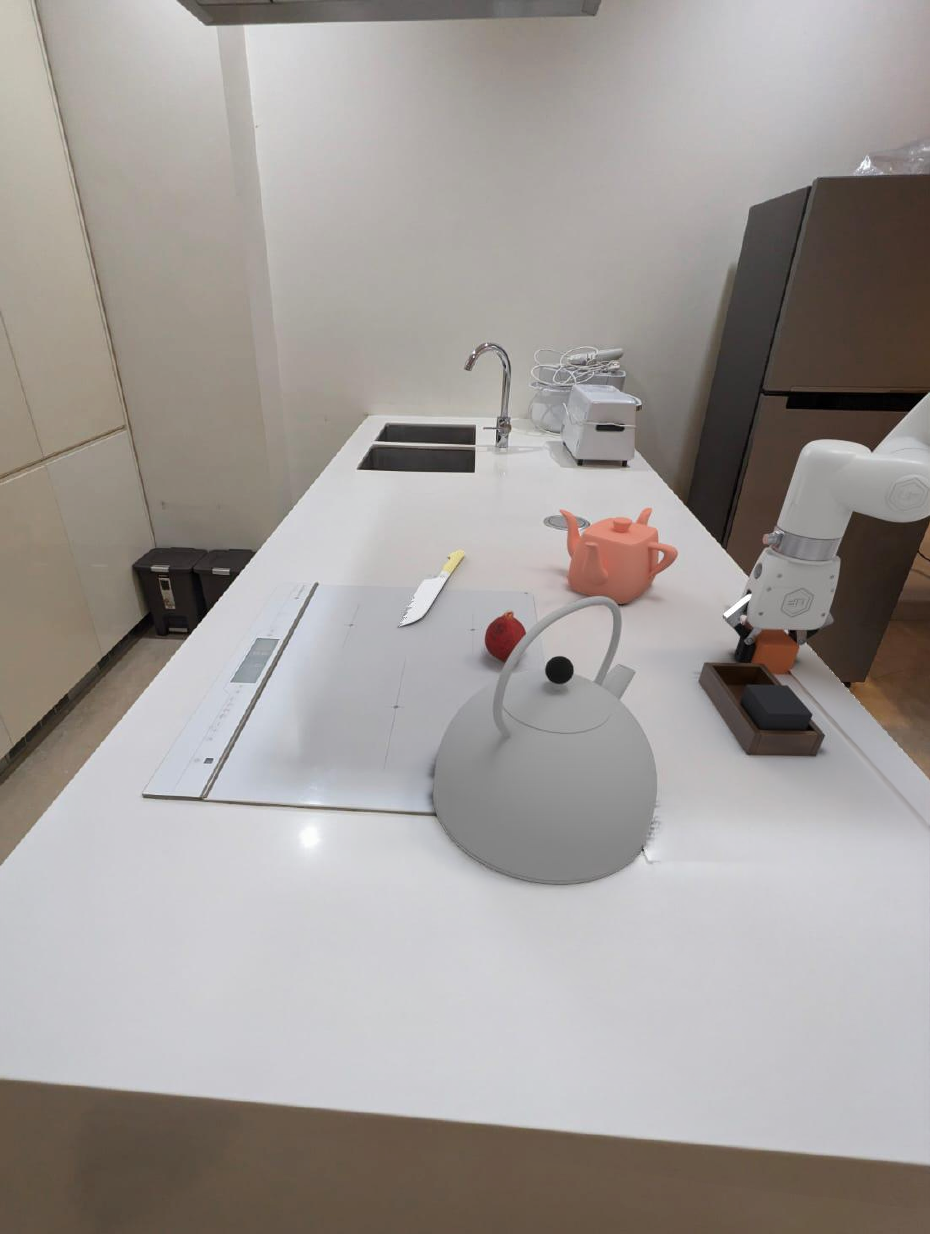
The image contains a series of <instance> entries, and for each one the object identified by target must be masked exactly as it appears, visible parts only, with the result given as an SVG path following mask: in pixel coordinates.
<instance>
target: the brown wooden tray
mask: <svg viewBox="0 0 930 1234" xmlns="http://www.w3.org/2000/svg"><path fill="white" fill-rule="evenodd" d="M698 683H699V684H700V686H701V688H702V689H703V690H704V692H705V694H706V695H707V697H708V698H709V700H710V701H711V703H712V704H713V705H714V708H715V709H716V710H717V712H718V713H719V715H720V716H721V718H722V720H723V721H724V723H725V724H726V726H727V727H728V728H729V730H730V731H731V733H732V735H733V736H734V738H735V739H736V740H737V742H738V743H739V745H740V746H741V748H742V750H743V751H744V753H745V755H746V756H778V757H779V756H781V757H784V756H785V757H786V756H787V757H790V756H791V757H816V756H817V755H818V752H819V750H820V748H821V746H822V744H823V742H824V739H825V737H826V734H825V732H823V731H822V730H821V729H820V727H819V726H818V725H817V724H816V723H815V722H814V720H813V719H812V718H811V720H810V722H809V724H808V727H807V729H806V731H781V730H758V728H757V727H756V726H755V724H754V723H753V721H752V720H751V719H750V717H749V716H748V715H747V713H746V712H745V710H744V709H743V708H742V706H741V705H740V702H741V699H742V696H743V693H744V690H745V687H746V685H783V684H782V683H781V682H780V680H778V678H777V677H776V676H775V674H772V673H771V671H770V670H769V669H768V668H767V667H766V666H765V664H763V663H740V662H712V661H711V662H710V661H705V662H703V665H702V668H701V670H700V675H699V677H698Z"/></svg>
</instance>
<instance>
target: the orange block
mask: <svg viewBox="0 0 930 1234" xmlns="http://www.w3.org/2000/svg"><path fill="white" fill-rule="evenodd" d="M754 644H755V645H756V649H755V652H754V655H753V658H752V660H751V663H763V664H765V666H766V667H767V668H768V669H769V670H770V671H771V673H772V674H773V675H790V674H791V670H792V668H793V666H794V663H795V661H796V659H797V655H798V653H799V650H800V648H801V646H799V645H798V644H797V643H796V642H795V641H794V640H793V639H792V638H791V637H790V636H789V635H788V632H786V630H769V629H762V631H761V632H760V634H759V635H758V637H757V638H756V640H755V641H754Z"/></svg>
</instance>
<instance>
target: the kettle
mask: <svg viewBox="0 0 930 1234" xmlns="http://www.w3.org/2000/svg"><path fill="white" fill-rule="evenodd" d="M593 606H604V607H607V608H608V609H609V610H610V612H611V616H612V632H611V637H610V641H609V645H608V648H607V651H606V654H605V656H604V659H603V661H602V663H601V666H600V668H599V669H598V671H597V674H596V676H595V679H594V680H593V681H592V680H591V679H589V678H587V677H585V676H582V675H579V674H577V673H575V668H574V667H575V666H574V664H573V662H572V661H571V660H570V659H569V658H567V657H565V656H564V655H558V656H552V657H551V658H550V659H549V660H548V661H547V662H546V664H545V668H542V669H541V668H539V669H538V668H537V669H530V670H525V671H520V672H516V673H513V670H514V669H515V667H516V665H517V663H518V662H519V660H520V659H521V657H522V656H523V654H524V653H525V651H526V650H527V649H528V648H529V646H530V645H531V644H532V642H533V641H535V639H536V638H537V637H538V636H539V635H540V634H541V633H542V632H543V631H544V630H546V629H547V628H549V627H550V626H551V625H552V624H554V623H556V622H557V621H558V620H561V619H563V618H564V617H566V616H568V615H570V614H573V613H575V612H578V611H580V610H583V609H585V608H589V607H593ZM622 622H623V621H622V613H621V609H620V607H619V604H616V603H615V602H614V601H613V600H612V599H610V598H608V597H604V596H594V597H592V596H588V597H585V598H581V599H579V600H575V601H573V602H570V603H568V604H566V605H564V606H562V607H559V608H557V609H555V610H554V611H552V612H551V613H549V614H547V615H546V616H544V617H543V618H542V619H540V620H539V621H538V622H536V623H535V624H534V625H533V626H532V627H531V628H530V629H529V630H528V631H526V634H525V636H524V637H523V638H522V639H521V640H520V642H519V643H518V644H517V645H516V647H515V648H514V650H513V651H512V653H511V654H510V656H509V658H508V659H507V661H506V662H504V665H503V667H502V669H501V671H500V674H499V676H498V679H497V680H494V681H493V682H490V683H489V684H487V685H485V686H483V687H482V688H481V689H479V690H478V691H476V692H475V693H474V694H473V695H472V696H471V697H469V698H468V699H467V700H466V702H464V703H463V704H462V705H461V707H460V708H459V709H458V710H457V712H455V714H454V716H453V717H452V719H451V720H450V722H449V724H448V725H447V728H446V729H445V731H444V734H443V735H442V738H441V740H440V744H439V746H438V751H437V755H436V761H435V768H434V779H433V786H432V800H433V801H432V802H433V808H434V811H435V814H436V817H437V819H438V821H439V823H440V825H441V827H442V828H443V830H444V831H445V833H446V834H447V836H448V837H449V838H450V839H451V840H452V841H453V843H454V844H455V845H457V846H458V847H459V848H460V849H461V850H462V852H465V854H467V855H468V856H470V857H471V858H473V859H474V860H476V861H477V862H479V863H481V864H483V866H486V867H488V868H490V869H491V870H494V871H497V872H499V873H501V874H504V875H506V876H509V877H513V878H516V879H520V880H523V881H528V882H533V883H539V884H549V885H571V884H572V885H573V884H580V883H586V882H587V883H589V882H592V881H596V880H600V879H603V878H605V877H608V876H610V875H612V874H614V873H617V872H619V871H620V870H622V869H623V868H625V867H626V866H628V865H629V864H630V863H632V862H633V861H634V860H635V859H636V858H637V857H638V856H639V855H640V853H641V852H642V851H643V849H644V844H645V842H646V840H647V838H648V835H649V833H650V829H651V825H652V821H653V817H654V814H655V808H656V803H657V794H658V773H657V766H656V761H655V760H656V759H655V756H654V753H653V750H652V746H651V744H650V741H649V739H648V737H647V734H646V733H645V731H644V729H643V727H642V726H641V724H640V723H639V721H638V719H637V718H636V716H635V715H634V714H633V713H632V711H631V710H630V709H629V708H628V707H627V706H626V705H625V704H624V703H623V701H621V699H622V697H623V696H624V694H625V692H626V691H627V689H628V687H629V685H630V683H631V681H632V680H633V678H634V676H635V675H636V673H637V671H636V670H634V669H633V668H630V667H628V666H626V665H624V664H621V663H617V664H616V665H614V667H613V668H611V665H612V664H613V660H614V659H615V656H616V653H617V650H618V647H619V643H620V640H621V635H622ZM610 668H611V670H610ZM609 670H610V671H609Z"/></svg>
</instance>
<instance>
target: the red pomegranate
mask: <svg viewBox="0 0 930 1234" xmlns="http://www.w3.org/2000/svg"><path fill="white" fill-rule="evenodd" d="M514 615H515V612H514V611H513V610H510V609H509V610H506V611H505V612H504V613H503V614H502V615H501V616H498V617H496V618H495V619H494V620H493V621H492V622H490V623H489V624H488V626H487V627H486V630H485V634H484V646H485V649H486V650H487V652H488V653H489V655H491V656H492V657H493V658H495V659H497V660H499V661H500V662H502V663H506V661H507V659H508V658H509V656H510V654H511V653H512V651H513V650H514V648H515V647H516V645H517V644H518V643H519V642H520V640H521V639H522V638H523V637H524V636H525V634H526V633H527V631H526V629H525V627H524V625H523V623H522V622H521V621H520V620H519V619H517V618H516V617H514Z"/></svg>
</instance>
